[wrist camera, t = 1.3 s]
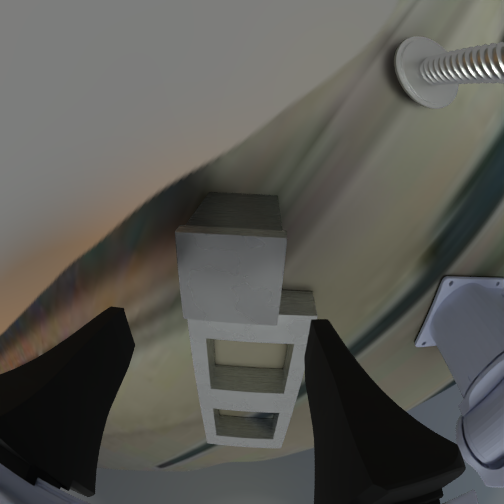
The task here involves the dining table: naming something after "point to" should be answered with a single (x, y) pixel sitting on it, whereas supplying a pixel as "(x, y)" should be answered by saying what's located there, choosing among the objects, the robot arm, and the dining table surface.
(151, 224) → the dining table surface
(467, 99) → the dining table surface
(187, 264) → the grey rectangular block
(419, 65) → the screw
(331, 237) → the dining table surface
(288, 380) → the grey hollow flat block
